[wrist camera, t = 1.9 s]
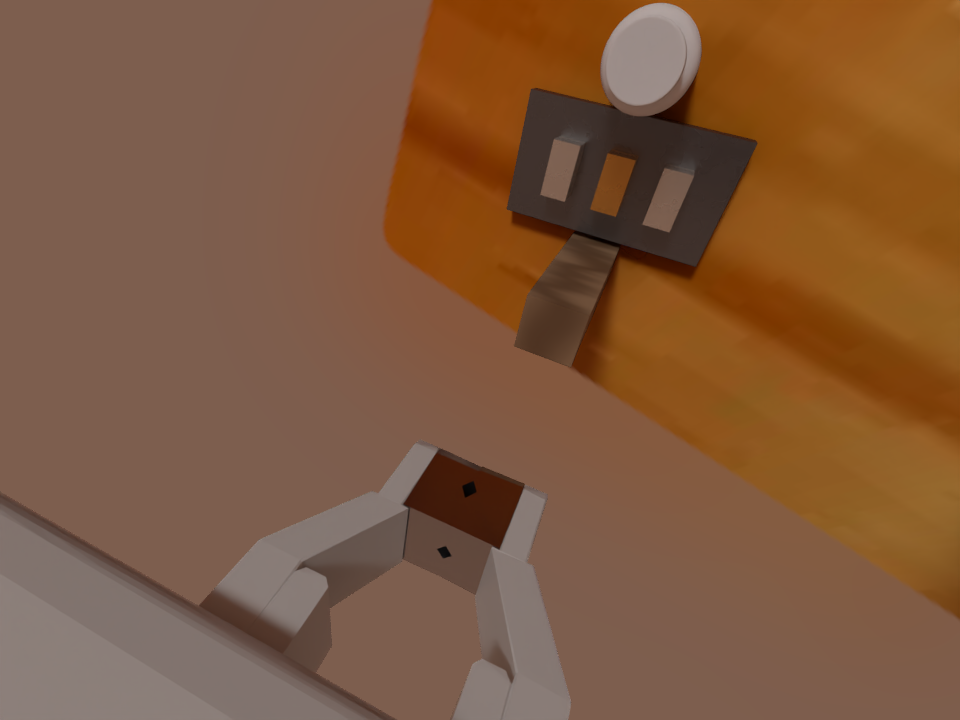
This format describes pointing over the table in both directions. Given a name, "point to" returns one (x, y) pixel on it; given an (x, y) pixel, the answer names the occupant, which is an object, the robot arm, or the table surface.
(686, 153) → the breaker strip
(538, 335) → the walnut post
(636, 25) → the pill bottle
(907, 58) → the table surface
